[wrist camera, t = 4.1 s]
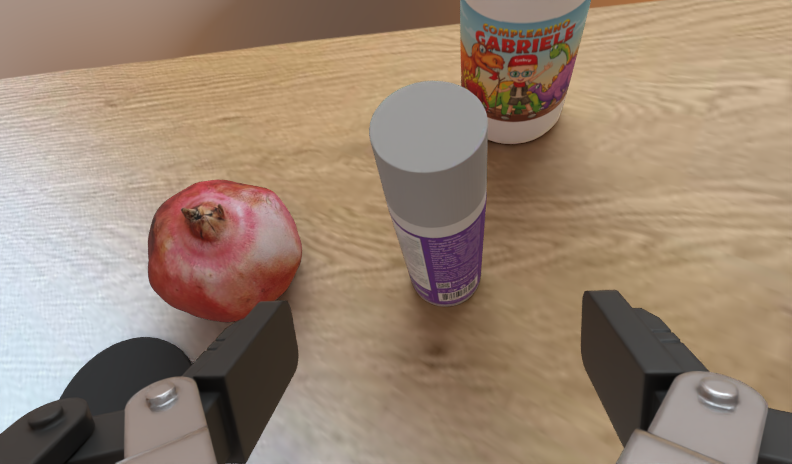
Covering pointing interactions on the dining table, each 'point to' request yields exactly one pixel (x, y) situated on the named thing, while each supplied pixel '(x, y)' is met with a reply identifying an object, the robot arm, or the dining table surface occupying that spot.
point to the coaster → (125, 373)
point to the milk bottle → (520, 61)
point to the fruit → (222, 249)
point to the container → (435, 184)
